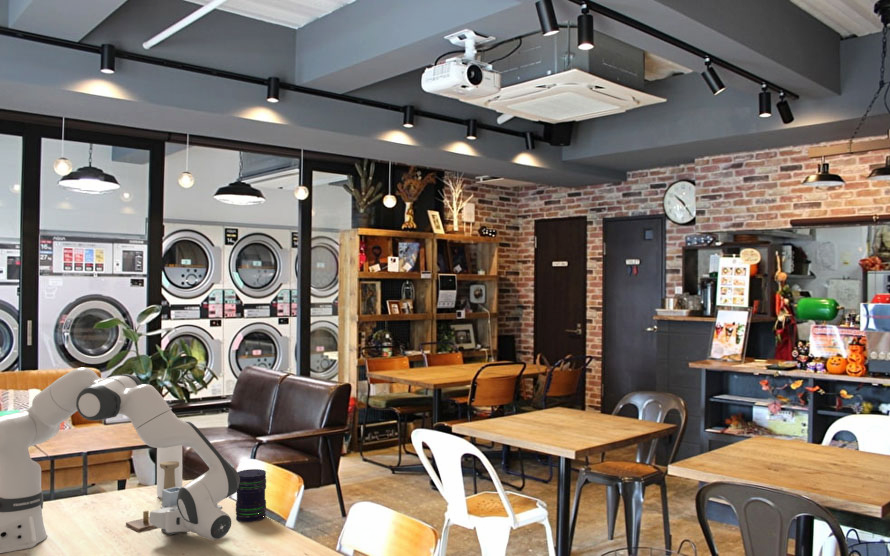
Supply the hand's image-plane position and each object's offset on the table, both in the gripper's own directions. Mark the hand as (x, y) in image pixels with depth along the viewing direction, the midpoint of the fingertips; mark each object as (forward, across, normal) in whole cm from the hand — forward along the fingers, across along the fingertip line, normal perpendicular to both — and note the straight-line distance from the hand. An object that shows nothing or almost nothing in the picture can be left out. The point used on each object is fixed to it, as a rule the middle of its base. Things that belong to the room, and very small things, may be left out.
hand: (172, 506), depth 233 cm
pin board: (+11, -1, +8) cm, 13 cm away
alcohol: (+38, -18, +8) cm, 43 cm away
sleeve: (-1, 0, +8) cm, 8 cm away
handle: (+26, -12, +8) cm, 30 cm away
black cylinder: (-7, -24, +8) cm, 26 cm away
